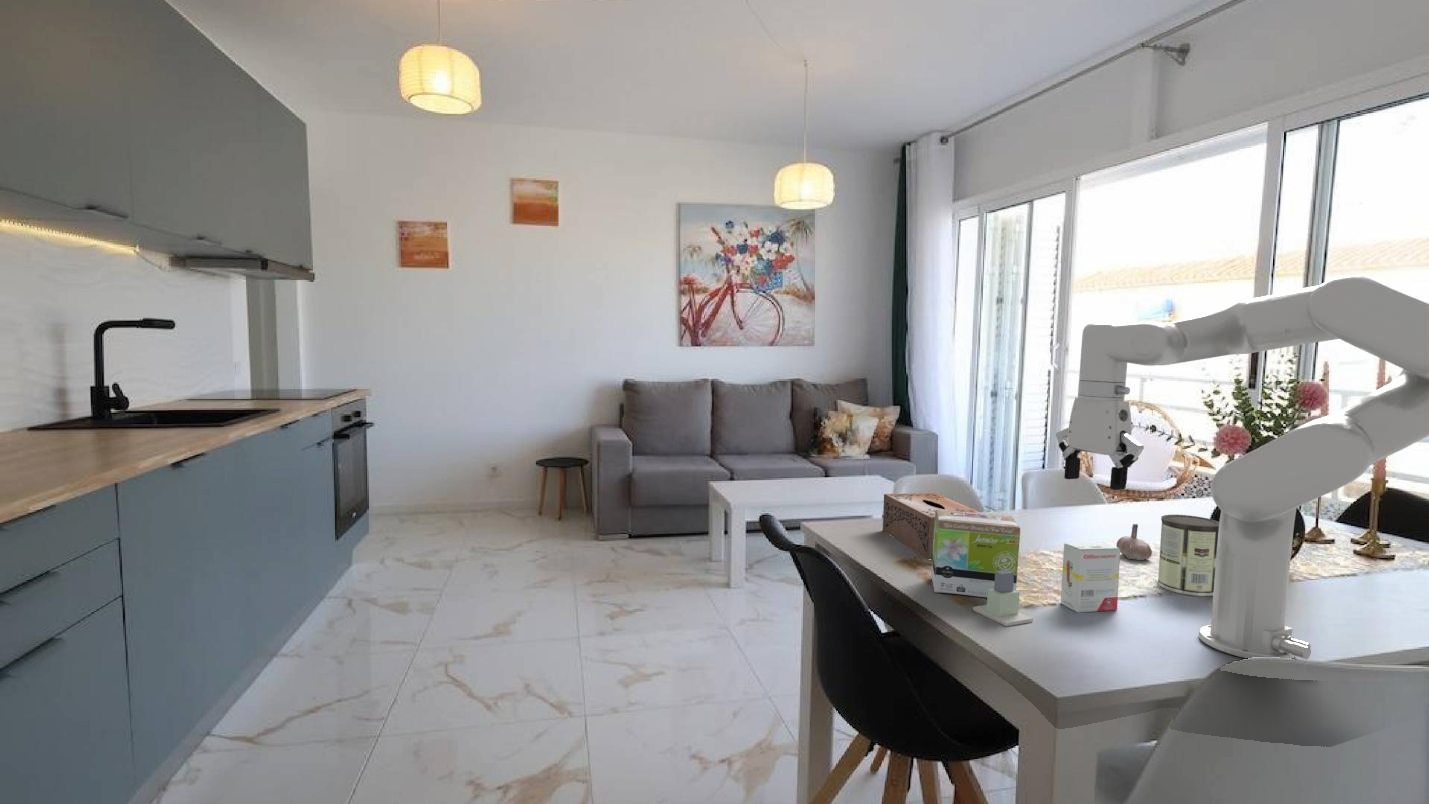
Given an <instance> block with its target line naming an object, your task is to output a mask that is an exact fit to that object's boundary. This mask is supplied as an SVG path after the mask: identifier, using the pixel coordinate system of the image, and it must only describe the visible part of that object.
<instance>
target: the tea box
mask: <svg viewBox="0 0 1429 804" xmlns="http://www.w3.org/2000/svg"><path fill="white" fill-rule="evenodd" d="M982 513H983V512H981V513H971V512H959V511H947V510H936V512H935V524H934V539H933V554H932V560H931V574H930V576H931V577H930V578H931V581H932V585H933V591H934V593H944V594H956V595H962V596H963V595H964V596H971V597H978V598H979V597H980V598H987V595H988V589H994V584H995V572H996V571H1003V570H1008V571H1011V572H1014V582H1013V590H1016V591H1017V582H1018V581H1017V580H1018V566H1019V552H1020V540H1021V527H1020V526H1019V524H1018V522H1017V521H1016V520H1015V518H1014V517H1013V516H1012V515H1005V514H992V513H991V514H990V513H984V514H982Z"/></svg>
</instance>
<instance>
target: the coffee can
mask: <svg viewBox="0 0 1429 804" xmlns="http://www.w3.org/2000/svg"><path fill="white" fill-rule="evenodd" d="M1160 520H1161V527H1160V528H1161V529H1160V530H1161V531H1160V547H1159V558H1158V559H1159V560H1158V575H1157V576H1158V577H1157V585H1158V586H1159V587H1160V586H1161V588H1162V589H1164V588H1165V589H1164V590H1167V591H1169V592H1173V593H1177V594H1181V595H1185V596H1195V597H1213V592H1214V579H1215V566H1216V553H1217V542H1218V531H1219V522H1220V521H1218V520H1215V519H1212V518H1209V517H1208V518H1207V517H1203V516H1195V515H1189V514H1186V515H1185V514H1166V515H1162V516H1160Z"/></svg>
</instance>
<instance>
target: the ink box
mask: <svg viewBox="0 0 1429 804" xmlns="http://www.w3.org/2000/svg"><path fill="white" fill-rule="evenodd" d="M1120 559H1121V552H1120V549H1118V547H1117V546H1115V545H1112V544H1108V543H1106V542H1101V541H1100V542H1064V544H1063V556H1062V573H1061V574H1062V575H1061V586H1060V587H1061V593H1060V604H1061V605H1063V606H1065V607H1067V608H1068V609H1071V610H1072V611H1074V612H1076V613H1088V612H1089V613H1091V612H1105V611H1106V612H1107V611H1118V603H1119V602H1118V599H1119V581H1120V580H1119V579H1120V578H1119V576H1120V561H1121V560H1120Z"/></svg>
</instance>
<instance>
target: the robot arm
mask: <svg viewBox="0 0 1429 804" xmlns="http://www.w3.org/2000/svg"><path fill="white" fill-rule="evenodd" d="M1335 340H1341V341H1343V342H1345V343H1348V344H1349V345H1351V346H1353V347H1355V348H1358V349H1360V350H1362V351H1364V352H1366V353H1368V354H1370V355H1373V356H1375V357H1377V358H1379V359H1381V360H1383V361H1385V362H1388V363H1390V364H1392V365H1395V366H1396V367H1399V368H1401V369H1402V370H1401V372H1400V373H1399V375H1398V376H1397V377H1395V379H1393V380H1392V381H1391V382H1389V383H1388V384H1385V385H1384V386H1382V387H1380V388H1379V389H1378V388H1377V390H1375V391H1372V392H1370V393H1368V394H1367V395H1365V396H1364V397H1362V398H1360V399H1358V400H1356V401H1354V402H1353V403H1350V404H1349V405H1346V406H1344V407H1342V408H1341V409H1337V410H1336V411H1334V412H1331V413H1330V414H1328V415H1325V416H1322V417H1319V418H1315V419H1313V420H1310V421H1307V422H1305V423H1303V424H1301V425H1299V426H1297V427H1296V428H1294V429H1292V430H1289V431H1288V432H1287V433H1284V434H1282V435H1281V436H1278V437H1277V438H1274V439H1272V440H1271V441H1269V442H1267V443H1265V444H1263V445H1261V446H1259V447H1257V448H1256V449H1253V450H1252V451H1249V452H1248V453H1246V454H1244V455H1241V456H1238V457H1236V458H1234V459H1232V460H1231V461H1230V462H1228V463H1226V464H1224V465H1223V466H1221V467H1220V468H1219V469H1218V471H1217V472H1216V473H1215V474H1214V475H1213V478H1212V481H1211V487H1210V491H1211V496H1212V497H1211V498H1212V499H1213V501H1214V503H1215V506H1217V507H1218V508H1219V510H1220V514H1219V515H1220V517H1219V521H1218V522H1219V531H1218V542H1217V553H1216V566H1215V579H1214V592H1213V596H1212V606H1211V607H1212V608H1211V617H1210V619H1211V620H1210V624H1208V625H1204V626H1202V627H1199V629H1198V637H1199V640H1201V641H1202V643H1204V644H1206V645H1208V646H1210V647H1211V648H1213V649H1215V650H1217V651H1219V652H1223V653H1226V654H1228V655H1232V656H1235V657H1239V658H1243V659H1247V658H1252V657H1280V658H1293V659H1294V658H1295V657H1298V658H1301V659H1304V660H1308V659H1309V658H1310V656H1311V654H1312V649H1311V648H1312V647H1311V643H1309V642H1307V641H1306V642H1305V641H1304V640H1300V639H1299V640H1298V639H1296V638H1294V636H1293V635H1292V634H1293V627H1290V626H1286V625H1285V624H1286V615H1287V605H1288V603H1287V601H1288V591H1289V580H1290V569H1291V567H1290V566H1291V559H1292V558H1291V557H1292V551H1293V550H1292V549H1293V548H1292V547H1293V538H1294V537H1293V536H1294V529H1295V520H1296V514H1297V508H1298V507H1300V506H1303V505H1305V504H1307V503H1310V502H1311V501H1313V500H1317V499H1318V498H1321V497H1322V496H1324V495H1327V494H1329V493H1331V492H1334V491H1336V490H1338V489H1341V488H1343V487H1344V486H1346V485H1348V484H1351V483H1352V482H1354V481H1355V480H1357V479H1359V478H1360V477H1361V476H1363V474H1364V473H1365V472H1367V469H1368V468H1369V467H1371V465H1374V464H1375V463H1377V462H1379V461H1381V460H1383V459H1385V458H1387V457H1389V456H1391V455H1394V454H1395V453H1398V452H1400V451H1403V450H1404V449H1406V448H1408V447H1410V446H1412V445H1413V444H1416V443H1417V442H1420V441H1421V440H1423V439H1426V438H1428V437H1429V303H1428V302H1425V301H1424V300H1420V299H1418V298H1415V297H1413V296H1410V295H1408V294H1405V293H1403V292H1401V291H1398V290H1396V289H1393V288H1391V287H1389V286H1387V285H1384V284H1383V283H1380V282H1378V281H1376V280H1373V279H1371V278H1368V277H1365V276H1363V275H1362V276H1361V275H1356V274H1354V275H1353V274H1351V275H1349V274H1348V275H1341V276H1337V277H1333V278H1331V279H1329V280H1326V281H1325V282H1323V283H1321V284H1320V285H1315V286H1310V287H1309V286H1308V287H1304V288H1300V289H1295V290H1291V291H1287V292H1279V293H1275V294H1270V295H1265V296H1260V297H1254V298H1250V299H1245V300H1243V301H1239V302H1238V303H1235V304H1233V305H1232V306H1230V307H1228V308H1226V309H1224V310H1221V311H1218V312H1215V313H1211V314H1206V315H1202V316H1197V317H1193V318H1189V319H1183V320H1178V321H1177V320H1176V321H1171V322H1166V323H1164V322H1157V321H1144V322H1143V321H1141V322H1136V323H1135V322H1134V323H1124V324H1123V323H1113V322H1109V323H1108V322H1094V323H1089V324H1087V325H1085V326H1084V328H1083V329H1082V335H1081V347H1080V349H1081V350H1080V361H1079V363H1080V364H1079V373H1078V374H1079V375H1078V376H1079V377H1078V389H1077V396H1075V398H1074V401H1073V404H1072V408H1071V413H1070V416H1069V417H1070V418H1069V423H1068V427H1067V428H1064V429H1062V430H1059V431H1057V432H1056V434H1055V438H1056V440H1057V443H1058V447H1059V449H1060V451H1061V452H1062V457H1063V458H1064V459H1065V460H1064V461H1065V464H1064V479H1065V480H1077V479H1079V478H1080V472H1081V471H1080V470H1081V457H1079V455H1080V454H1081V453H1083V452H1087V453H1092V454H1098V455H1104V456H1108V457H1109V458H1110V460H1111V461H1112V463H1113V464H1114V466H1112V467H1111V471H1110V482H1109V488H1110V489H1111V490H1114V491H1116V490H1117V491H1120V490H1125V489H1126V487H1127V481H1128V471H1129V469H1128V468H1131V467H1132V465H1133V464H1135V462H1137V461H1138V459H1139V456H1140V455H1141V454H1142V452H1143V450H1144V448H1145V447H1144V445H1143V444H1142V443H1140V442H1139V441H1138V440H1136V439H1135V438H1134V437H1132V413H1131V407H1130V402H1129V400H1126V399H1125V395H1129V394H1130V393H1131V389H1130V387H1129V386H1126V382H1127V374H1128V373H1127V368H1128V364H1134V365H1139V366H1145V367H1147V366H1151V367H1153V366H1169V365H1176V364H1182V363H1187V362H1193V361H1201V360H1207V359H1213V358H1219V357H1225V356H1230V355H1231V356H1232V355H1243V354H1244V355H1247V354H1253V353H1260V352H1266V351H1272V350H1276V349H1278V350H1279V349H1283V348H1289V347H1294V346H1302V345H1308V344H1316V343H1321V342H1328V341H1335Z"/></svg>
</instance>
